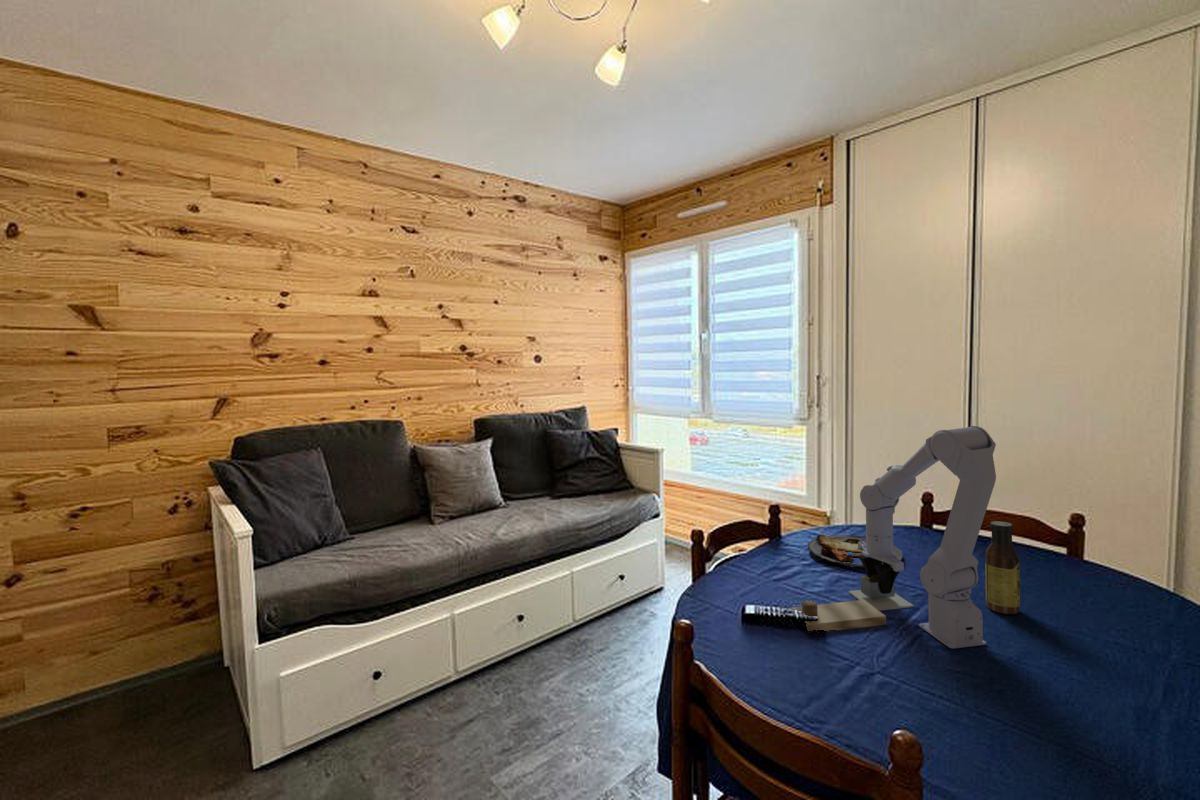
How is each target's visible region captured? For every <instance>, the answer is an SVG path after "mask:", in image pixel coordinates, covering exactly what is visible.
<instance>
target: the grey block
mask: <svg viewBox="0 0 1200 800" xmlns="http://www.w3.org/2000/svg"><path fill="white" fill-rule="evenodd" d="M895 587H896V585H895V583H894V584H893V587H892V591H891V593H888V594H882V593H881V590H880V583H879V577H878V574H875V575H867V574H866V575H861V576H860V590H861V592H862V593H863V594H864V595H866V596H867V597H869V598H870V599H878V598H886V597H894V596H895V593H896V591H895V589H896V588H895Z"/></svg>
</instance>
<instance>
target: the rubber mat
mask: <svg viewBox="0 0 1200 800" xmlns="http://www.w3.org/2000/svg"><path fill="white" fill-rule="evenodd" d="M848 594H849V595H851V596H852V597H853V598H855V599H857V600H865V601H866V602H868V603H869V604H871V605H872V606H873V607H875V608H876V609H877V610H879V611H880V612H882V611H889V610H899V609H906V608H907V609H909V608H914V604H912V603H911V602H909V601H908V600H906V599H905V598H903V597H901V596H900V595H899V594H897V593H896V592H895V596H894V597H886V598H878V599H870V598H869V597H867V596H866V595H864V594H863V593H862V592H861V589H856V590H848Z"/></svg>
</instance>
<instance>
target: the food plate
mask: <svg viewBox="0 0 1200 800" xmlns="http://www.w3.org/2000/svg"><path fill="white" fill-rule="evenodd" d="M862 541H866V537H865V536H862V535H861V536H860V535H849V534H848V535H843V534H842V535H841V534H834V535H833V534H832V535H825V534H822V533H821V534H818V535H817V536H816V538H814V539H812V540H810V541H809V542H808V543H807V549H808V550H809V551H810V552H811V553H812V554H813V556H814V555H815V556H816V557H819V558H821V559H822V560H824V559H825V560H826V561H827V562H833V563H838V564H840V565H842V566H846V567H850V568H856V567H857V568H864V566H863V564H859V565H858V564H852V563H853V562H854V559H853V558H859V556H860V555H862V554H854V555H853V556H852V555H848V554H847V553H846V552H852V553H862V552H864V551H863V550H862V551H861V550H859V549H858V542H862ZM893 552H894V554H895V555H896V556H897V557H898V559H899V560H900V561H902V560H903V551H902V550H901V549H900V548H897V546H896V545H893ZM844 562H846V563H844ZM847 562H850V563H847ZM882 564H883V563H882Z"/></svg>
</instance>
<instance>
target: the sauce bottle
mask: <svg viewBox="0 0 1200 800" xmlns="http://www.w3.org/2000/svg"><path fill="white" fill-rule="evenodd" d="M989 524H990V525H989V526H990V527H989V528H990V529H991V539H990V540H991V542H990V544H989V545H988V546H987V548H986V550H985V564H984V565H985V566H984V568H985V569H984V570H985V571H984V572H985V573H984V574H985V601H986V606H987V607H988V609H989V610H991V611H993V612H994V613H995V612H996V613H998V614H1002V615H1016V614H1018V613H1019V611H1020V606H1021V588H1020V587H1021V582H1020V581H1021V579H1020V578H1021V576H1020V575H1021V574H1020V573H1021V571H1020V568H1021V567H1020V558H1019V556H1018V553H1017V551H1016V548H1015V546H1014V543H1013V533H1012V532H1013V531H1014V526H1013V524H1012V523H1010V522H1007V521H999V520H995V521H991V522H990V523H989Z"/></svg>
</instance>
